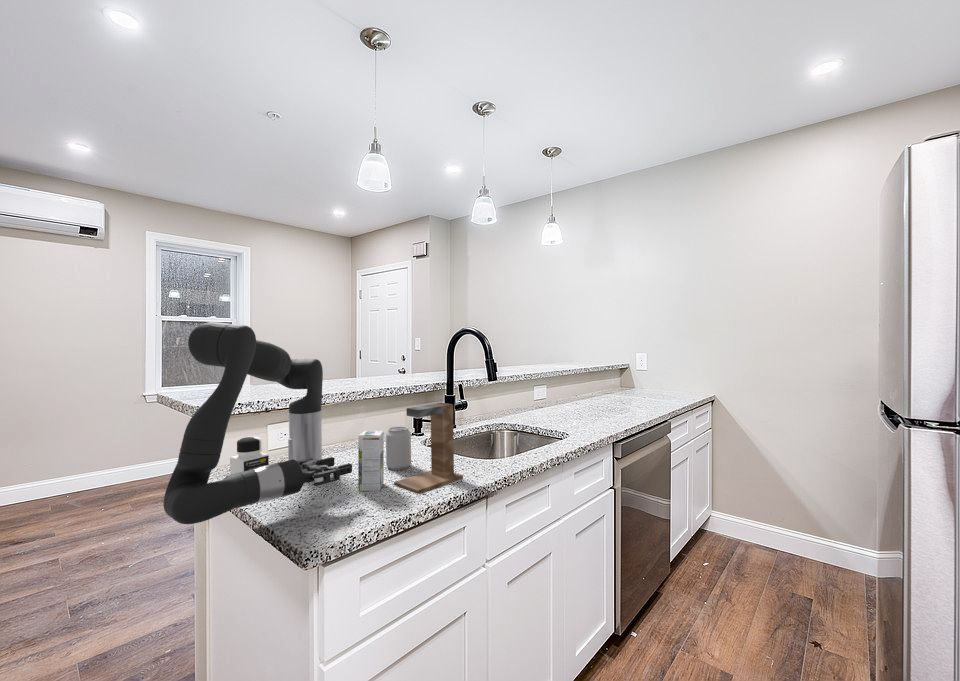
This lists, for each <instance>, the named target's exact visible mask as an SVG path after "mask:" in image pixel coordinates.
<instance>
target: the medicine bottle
mask: <svg viewBox="0 0 960 681" xmlns="http://www.w3.org/2000/svg"><path fill="white" fill-rule="evenodd" d="M262 450H263V449H262V438H261V437H258V436H247V437H241V438H240V439H238V440H237V441H236V454H237V455H234V456H230V458H229V473H230V474H229V475H232V474H235V473H239V472H244V471H248V470H253V469H256V468H259V467H262V466H265V465H270V462H269V461H270V460H269V459H270V458H269V454H268V453H263V452H262Z"/></svg>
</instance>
